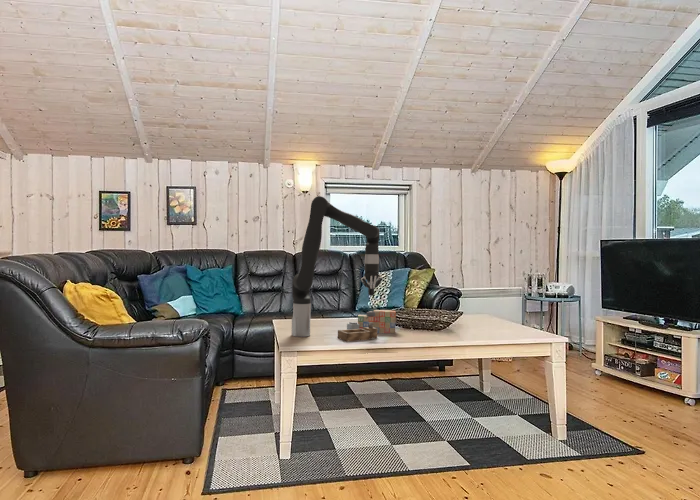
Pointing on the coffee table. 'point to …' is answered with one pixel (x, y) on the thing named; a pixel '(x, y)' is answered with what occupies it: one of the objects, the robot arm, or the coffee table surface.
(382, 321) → the stack of blocks
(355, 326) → the block
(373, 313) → the wheel
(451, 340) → the coffee table surface
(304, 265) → the robot arm
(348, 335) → the chassis
